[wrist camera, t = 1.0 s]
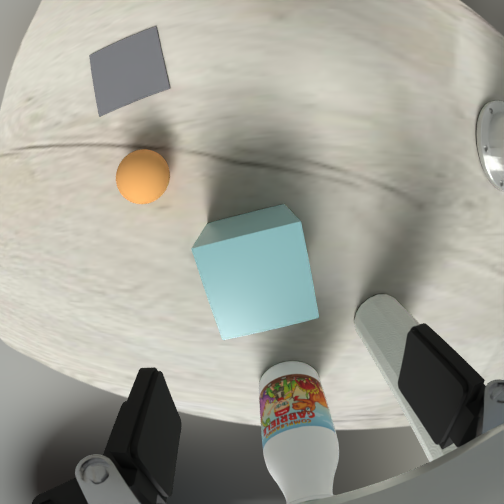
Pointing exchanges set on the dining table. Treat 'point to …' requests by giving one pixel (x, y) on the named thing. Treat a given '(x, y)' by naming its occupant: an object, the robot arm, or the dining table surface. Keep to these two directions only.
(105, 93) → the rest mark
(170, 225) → the dining table surface
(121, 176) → the ball
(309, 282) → the light teal cube-like block
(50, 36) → the dining table surface
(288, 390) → the milk bottle
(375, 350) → the paper towel roll
